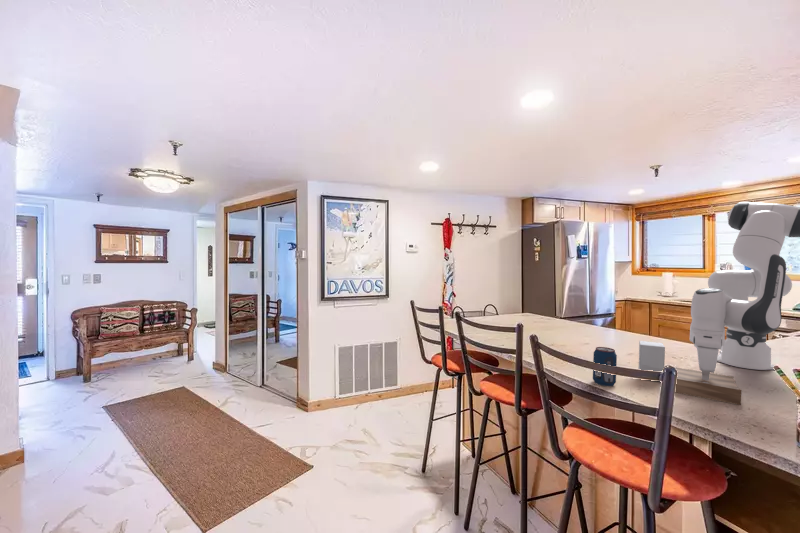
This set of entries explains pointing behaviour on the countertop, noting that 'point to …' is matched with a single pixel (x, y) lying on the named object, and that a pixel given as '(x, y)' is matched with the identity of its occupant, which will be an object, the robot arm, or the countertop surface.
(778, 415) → the countertop surface
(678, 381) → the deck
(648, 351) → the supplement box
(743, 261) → the robot arm
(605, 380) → the soda can
